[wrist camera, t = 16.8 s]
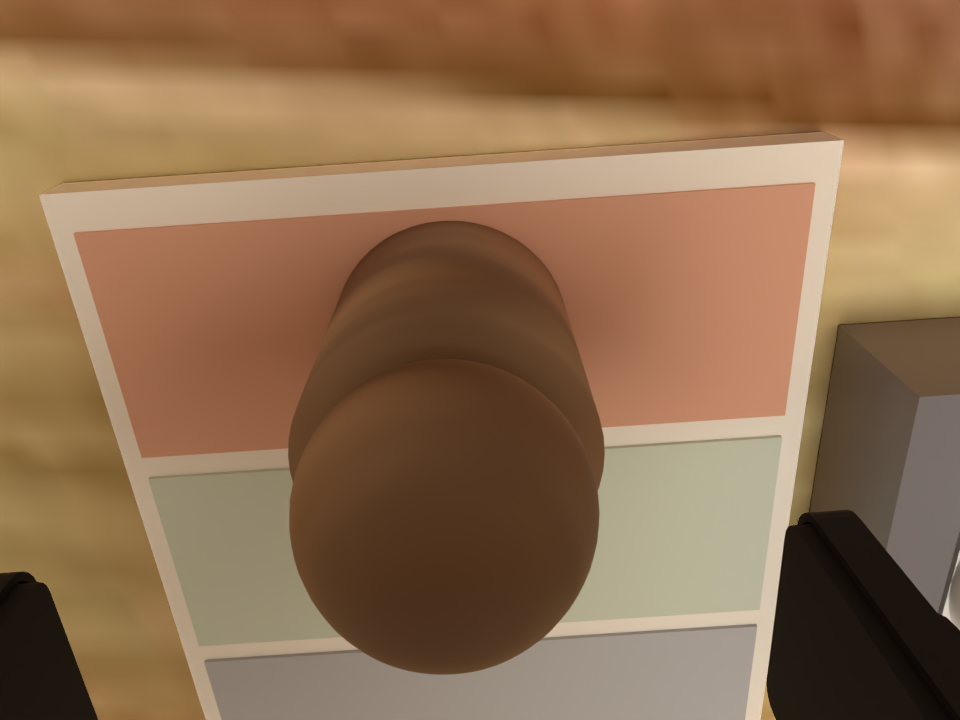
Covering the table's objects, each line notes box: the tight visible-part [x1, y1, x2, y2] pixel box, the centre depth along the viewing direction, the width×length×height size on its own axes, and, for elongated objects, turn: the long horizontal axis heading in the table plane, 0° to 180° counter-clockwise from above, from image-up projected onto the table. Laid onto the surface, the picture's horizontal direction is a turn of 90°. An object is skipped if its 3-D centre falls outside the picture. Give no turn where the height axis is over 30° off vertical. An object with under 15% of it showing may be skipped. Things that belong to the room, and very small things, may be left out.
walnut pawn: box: [288, 221, 605, 675], centre depth 13 cm, size 5×5×8 cm
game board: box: [39, 132, 844, 720], centre depth 20 cm, size 16×19×1 cm
